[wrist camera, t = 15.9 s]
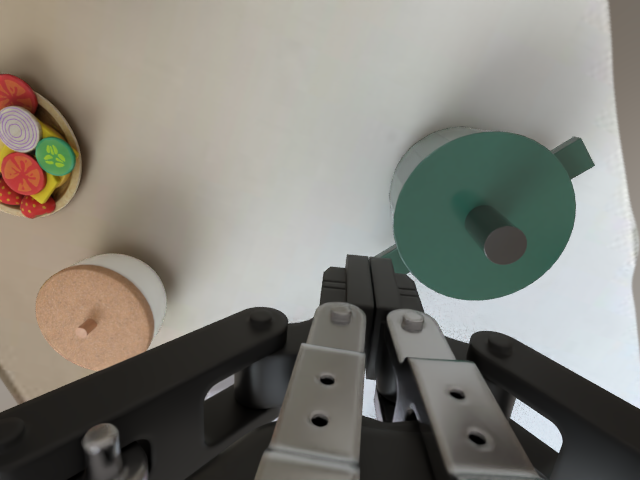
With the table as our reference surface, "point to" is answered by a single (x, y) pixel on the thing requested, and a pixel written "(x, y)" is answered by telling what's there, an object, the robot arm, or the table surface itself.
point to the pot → (567, 153)
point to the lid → (484, 215)
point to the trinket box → (102, 310)
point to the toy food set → (34, 153)
